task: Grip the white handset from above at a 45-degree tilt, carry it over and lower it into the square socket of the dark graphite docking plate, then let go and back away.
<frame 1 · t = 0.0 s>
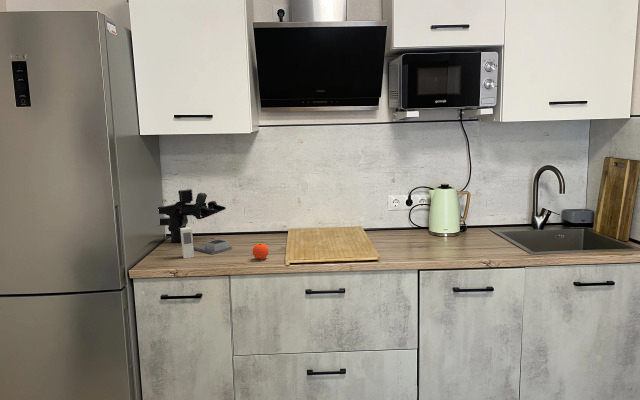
hand: (221, 209, 244), 17 cm above the counter, fingers open, 9 cm apart
white handset: (188, 256, 222), on the counter
dock: (217, 250, 230), on the counter
clementine: (260, 259, 213), on the counter
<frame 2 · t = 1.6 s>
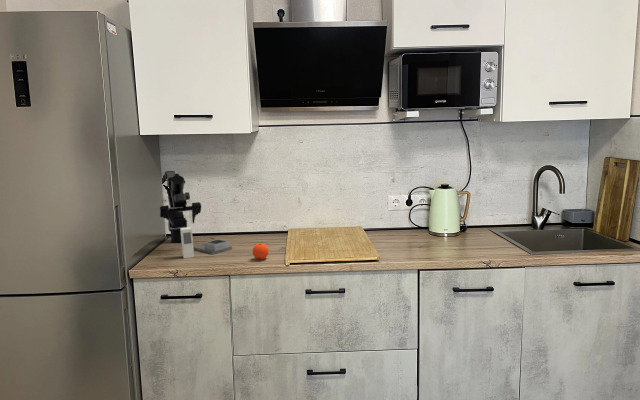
hand: (183, 224, 227), 14 cm above the counter, fingers open, 9 cm apart
nothing on the counter moved.
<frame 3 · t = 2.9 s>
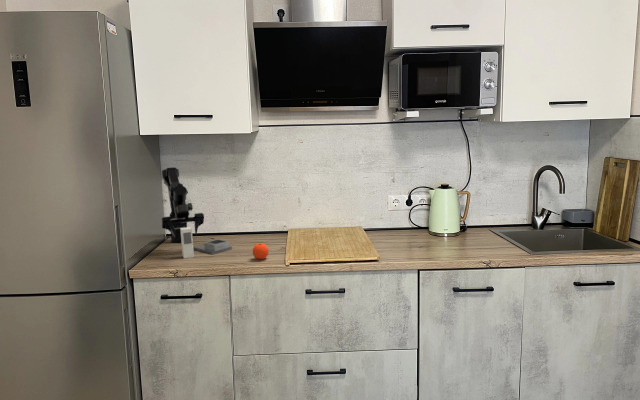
hand: (185, 235, 222), 9 cm above the counter, fingers open, 9 cm apart
nothing on the counter moved.
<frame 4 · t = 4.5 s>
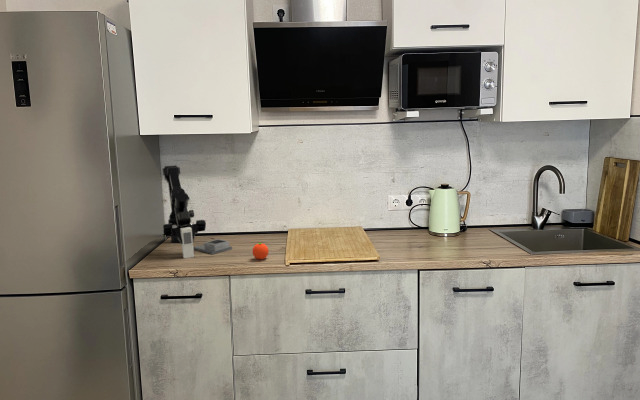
hand: (187, 242, 219), 7 cm above the counter, fingers closed on white handset, 4 cm apart
white handset: (188, 256, 222), on the counter, touching gripper
everything else where it was.
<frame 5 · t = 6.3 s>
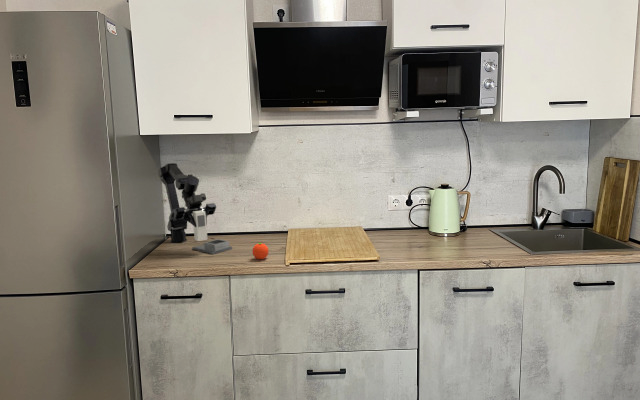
hand: (201, 225, 222), 13 cm above the counter, fingers closed on white handset, 4 cm apart
white handset: (201, 239, 224), point 7 cm above the counter, touching gripper
everything else where it was.
when the fingers open (9 cm above the counter, at t = 8.2 s): white handset drops 1 cm, resting on dock.
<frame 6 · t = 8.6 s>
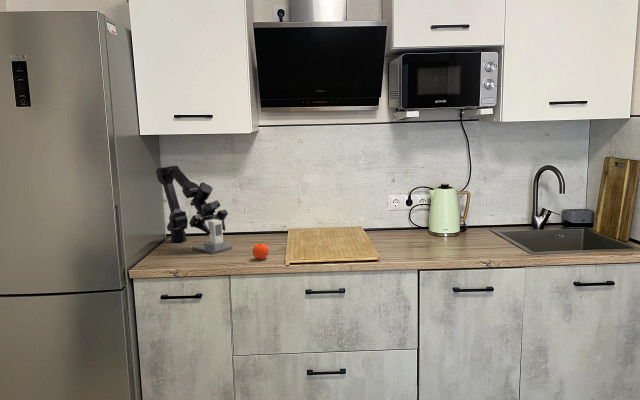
hand: (217, 232, 228), 9 cm above the counter, fingers open, 8 cm apart
white handset: (217, 248, 230), point 1 cm above the counter, touching dock
everything else where it was.
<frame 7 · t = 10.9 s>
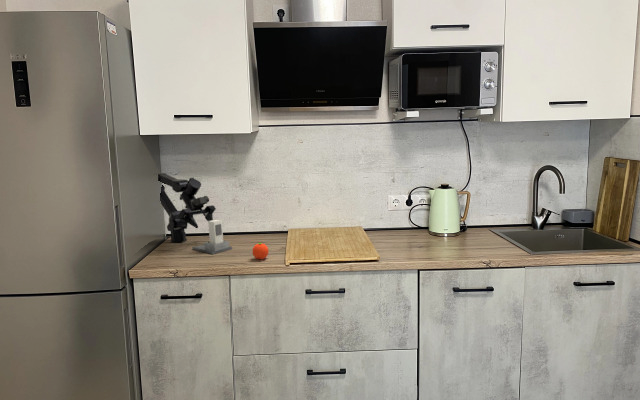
hand: (205, 226, 234), 11 cm above the counter, fingers open, 9 cm apart
nothing on the counter moved.
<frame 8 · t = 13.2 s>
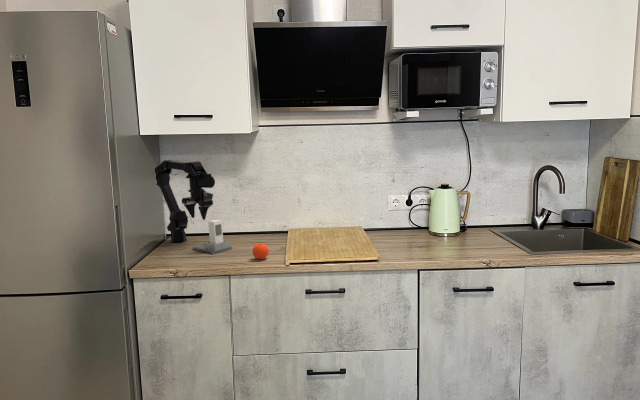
hand: (198, 218, 242), 13 cm above the counter, fingers open, 9 cm apart
nothing on the counter moved.
at the end: white handset 0.0 cm off-centre on the dock, point 1.2 cm above the dock's base; white handset tilted 0°; the gripper is holding nothing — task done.
